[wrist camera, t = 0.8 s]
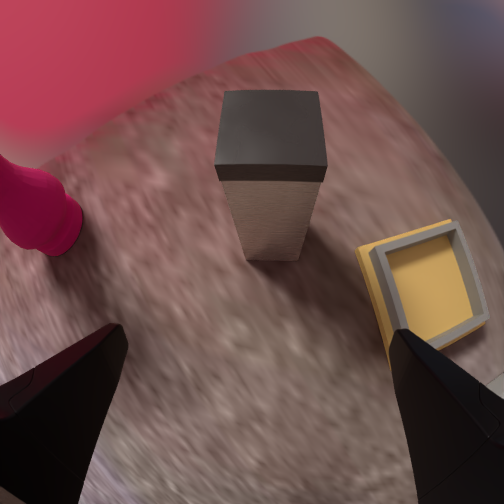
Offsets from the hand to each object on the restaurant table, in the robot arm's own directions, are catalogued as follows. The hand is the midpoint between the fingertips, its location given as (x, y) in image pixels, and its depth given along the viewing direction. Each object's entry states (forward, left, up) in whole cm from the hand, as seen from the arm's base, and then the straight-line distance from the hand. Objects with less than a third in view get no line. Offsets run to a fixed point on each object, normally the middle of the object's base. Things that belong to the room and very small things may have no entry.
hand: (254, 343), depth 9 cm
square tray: (0, -14, -13) cm, 19 cm away
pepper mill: (+15, +17, -13) cm, 26 cm away
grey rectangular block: (+8, -3, -13) cm, 15 cm away
